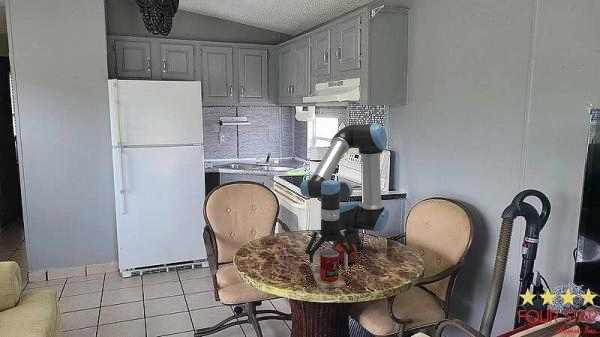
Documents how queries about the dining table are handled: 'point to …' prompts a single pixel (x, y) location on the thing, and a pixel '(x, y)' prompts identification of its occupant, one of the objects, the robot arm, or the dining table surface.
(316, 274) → the board
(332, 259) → the canned food
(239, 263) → the dining table surface
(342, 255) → the red apple
